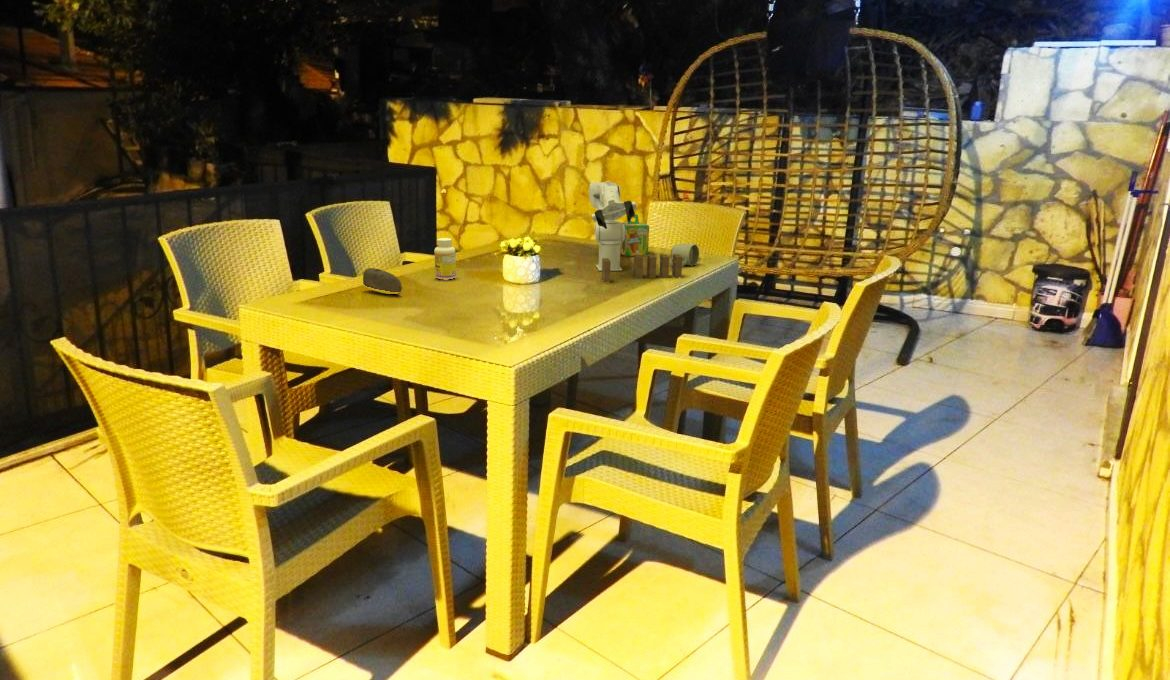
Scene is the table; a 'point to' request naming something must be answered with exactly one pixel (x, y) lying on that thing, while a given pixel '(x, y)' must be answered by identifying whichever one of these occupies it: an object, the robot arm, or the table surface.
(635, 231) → the chalk box
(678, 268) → the tile
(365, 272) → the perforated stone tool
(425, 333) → the table surface
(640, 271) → the tile
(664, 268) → the tile
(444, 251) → the supplement bottle
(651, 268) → the tile
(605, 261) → the tile
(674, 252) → the grey hollow cylinder
